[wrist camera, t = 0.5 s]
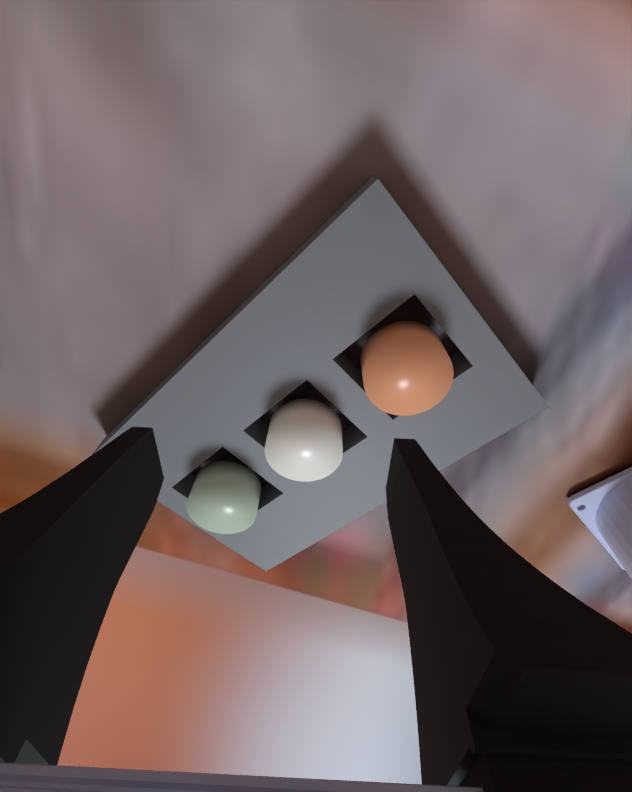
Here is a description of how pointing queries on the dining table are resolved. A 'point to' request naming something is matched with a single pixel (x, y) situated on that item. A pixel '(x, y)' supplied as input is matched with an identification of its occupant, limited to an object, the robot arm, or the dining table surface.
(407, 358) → the terracotta button
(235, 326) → the button panel
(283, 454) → the ivory button
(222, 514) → the green button
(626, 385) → the dining table surface
